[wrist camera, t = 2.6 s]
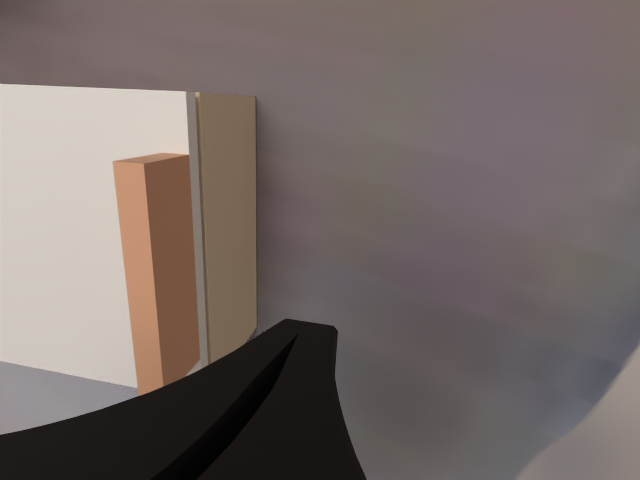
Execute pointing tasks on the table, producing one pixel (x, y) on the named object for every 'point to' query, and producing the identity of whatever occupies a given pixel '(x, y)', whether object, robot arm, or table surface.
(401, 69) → the table surface
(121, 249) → the lid
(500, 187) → the table surface
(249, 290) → the mailer box
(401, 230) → the table surface
